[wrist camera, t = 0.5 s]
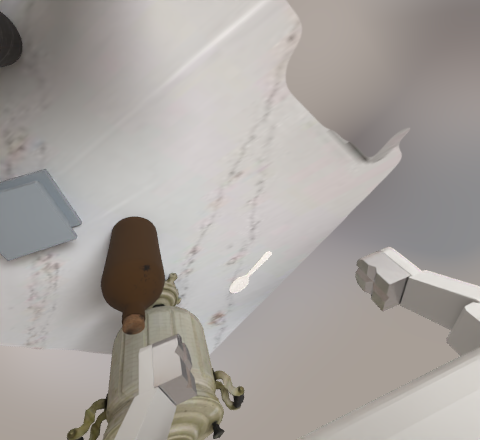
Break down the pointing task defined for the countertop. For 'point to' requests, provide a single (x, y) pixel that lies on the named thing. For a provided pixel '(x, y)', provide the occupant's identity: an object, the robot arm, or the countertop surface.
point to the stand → (33, 215)
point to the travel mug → (9, 42)
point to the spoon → (247, 275)
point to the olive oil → (133, 271)
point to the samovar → (127, 376)
